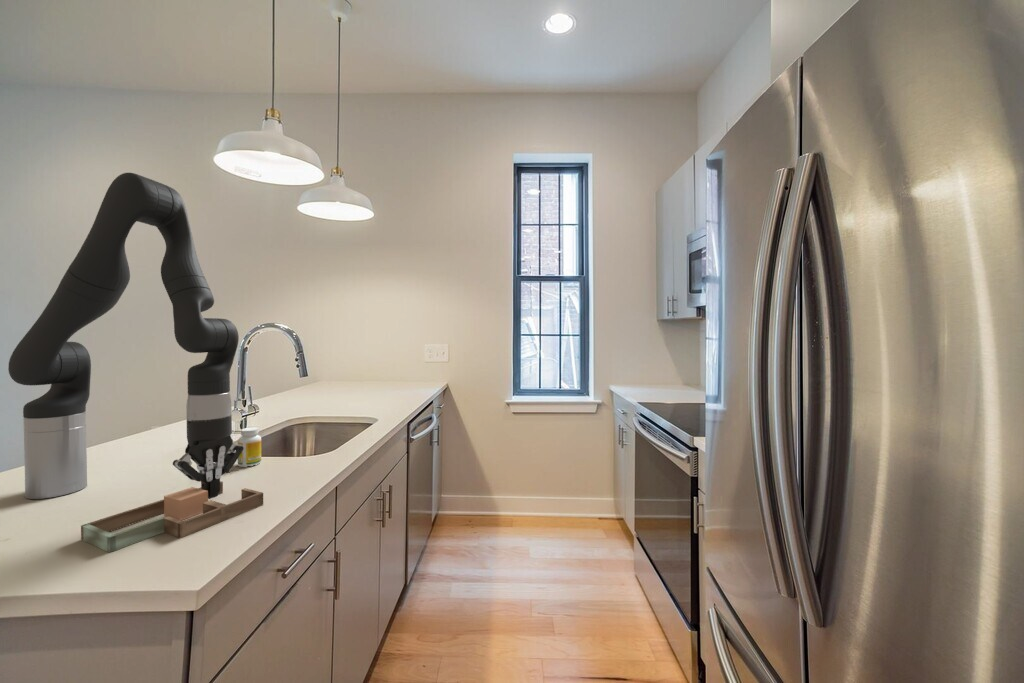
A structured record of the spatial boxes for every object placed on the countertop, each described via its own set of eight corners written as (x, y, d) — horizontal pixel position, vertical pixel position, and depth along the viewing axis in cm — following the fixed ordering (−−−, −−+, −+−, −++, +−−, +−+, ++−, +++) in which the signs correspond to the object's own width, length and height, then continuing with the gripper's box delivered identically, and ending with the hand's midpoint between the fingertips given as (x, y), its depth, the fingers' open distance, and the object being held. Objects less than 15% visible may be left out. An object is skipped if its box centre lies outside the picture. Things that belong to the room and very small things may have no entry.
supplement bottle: (233, 467, 107) (233, 431, 107) (244, 461, 113) (244, 426, 112) (255, 467, 108) (254, 431, 108) (265, 460, 113) (265, 426, 113)
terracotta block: (164, 516, 80) (163, 496, 80) (192, 506, 84) (192, 486, 84) (180, 521, 78) (179, 500, 78) (208, 510, 82) (207, 490, 82)
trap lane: (81, 539, 71) (80, 525, 71) (220, 492, 91) (220, 481, 91) (126, 559, 65) (125, 544, 65) (264, 504, 86) (264, 492, 86)
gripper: (230, 407, 92) (231, 483, 93) (161, 419, 80) (162, 506, 81) (253, 410, 89) (253, 488, 90) (184, 423, 77) (185, 513, 78)
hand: (210, 497), depth 85 cm, fingers closed
